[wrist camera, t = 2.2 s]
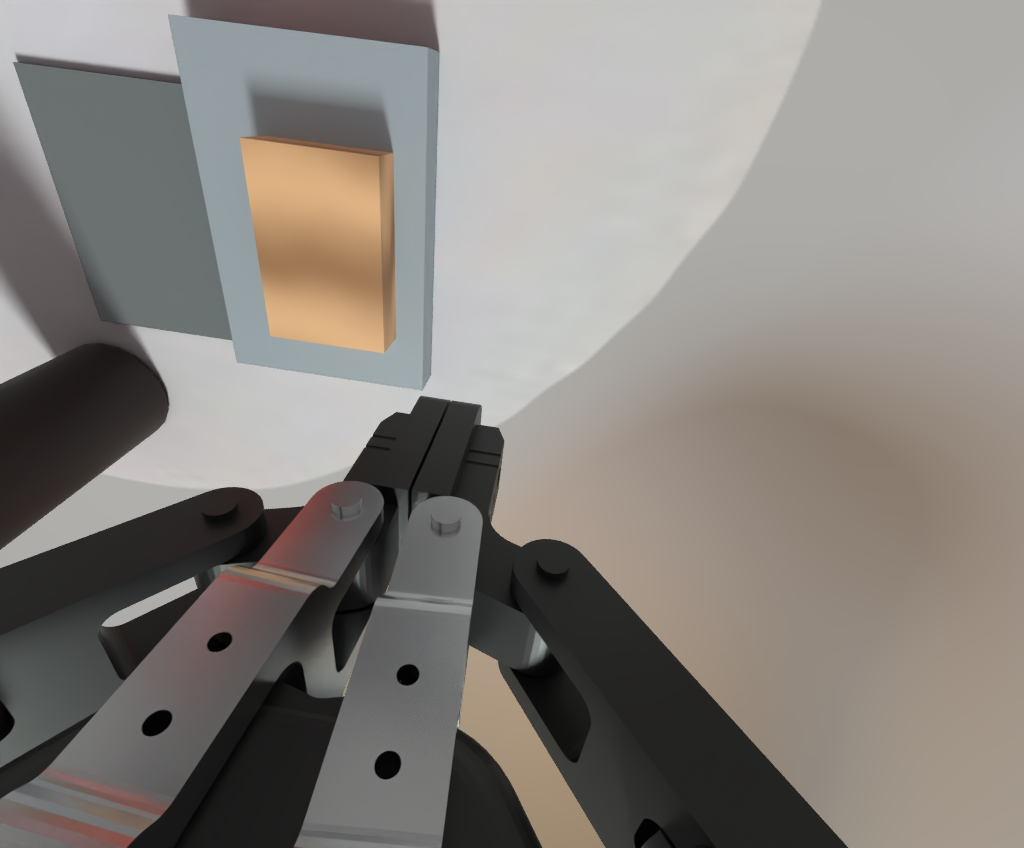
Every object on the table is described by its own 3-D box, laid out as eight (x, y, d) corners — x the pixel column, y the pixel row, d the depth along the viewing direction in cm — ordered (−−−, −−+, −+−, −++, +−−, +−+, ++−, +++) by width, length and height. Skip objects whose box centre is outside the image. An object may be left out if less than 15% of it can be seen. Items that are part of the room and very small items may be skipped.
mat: (18, 62, 25) (13, 62, 24) (205, 87, 24) (201, 86, 24) (104, 318, 31) (101, 320, 31) (250, 340, 31) (248, 342, 31)
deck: (198, 21, 23) (167, 14, 21) (439, 51, 22) (427, 47, 21) (255, 348, 31) (236, 362, 30) (430, 375, 31) (422, 390, 29)
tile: (264, 135, 23) (239, 137, 21) (393, 152, 23) (378, 156, 21) (288, 322, 28) (270, 336, 26) (395, 338, 28) (384, 353, 26)
